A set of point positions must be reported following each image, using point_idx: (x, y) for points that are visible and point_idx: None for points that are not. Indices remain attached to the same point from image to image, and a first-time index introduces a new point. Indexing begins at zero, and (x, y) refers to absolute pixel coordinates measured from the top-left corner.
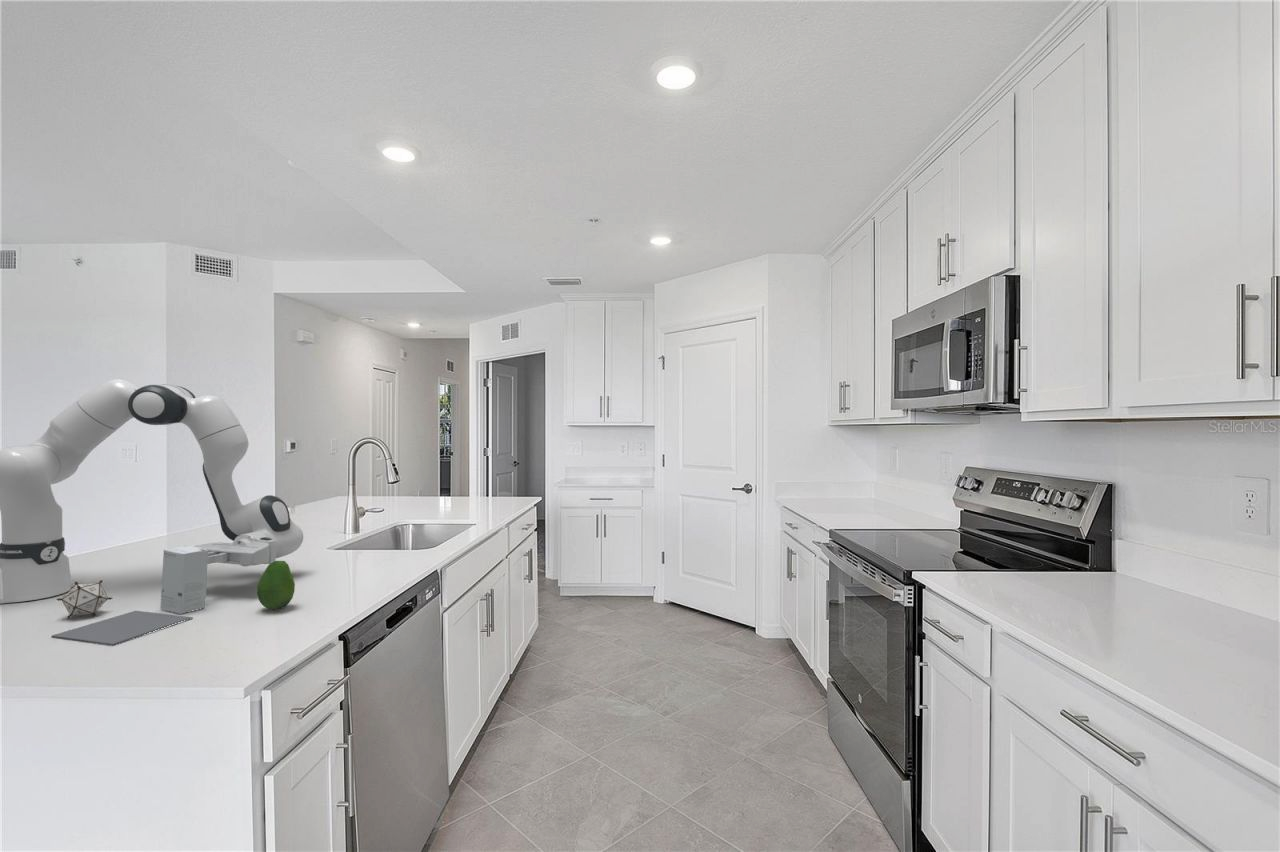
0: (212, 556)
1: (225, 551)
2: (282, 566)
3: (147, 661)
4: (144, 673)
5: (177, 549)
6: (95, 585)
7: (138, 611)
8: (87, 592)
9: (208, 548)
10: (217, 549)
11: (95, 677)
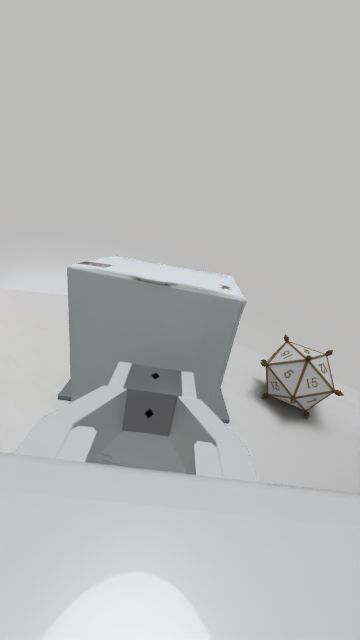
0: (109, 381)
1: (32, 459)
2: None
3: (35, 307)
4: (23, 297)
5: (189, 270)
6: (298, 355)
7: (216, 415)
8: (277, 351)
9: (351, 500)
10: (187, 476)
11: (66, 298)
